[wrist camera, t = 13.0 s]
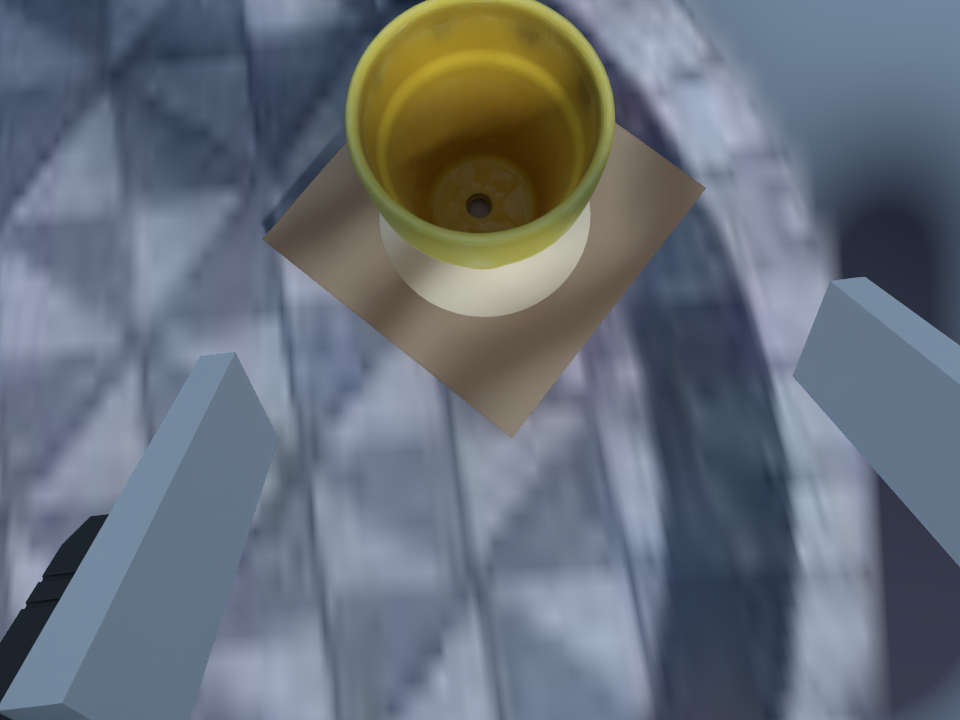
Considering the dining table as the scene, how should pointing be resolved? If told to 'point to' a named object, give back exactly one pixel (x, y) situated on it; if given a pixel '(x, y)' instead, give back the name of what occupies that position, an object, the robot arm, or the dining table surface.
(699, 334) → the dining table surface
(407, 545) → the dining table surface
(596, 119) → the plant pot
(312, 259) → the trivet board
